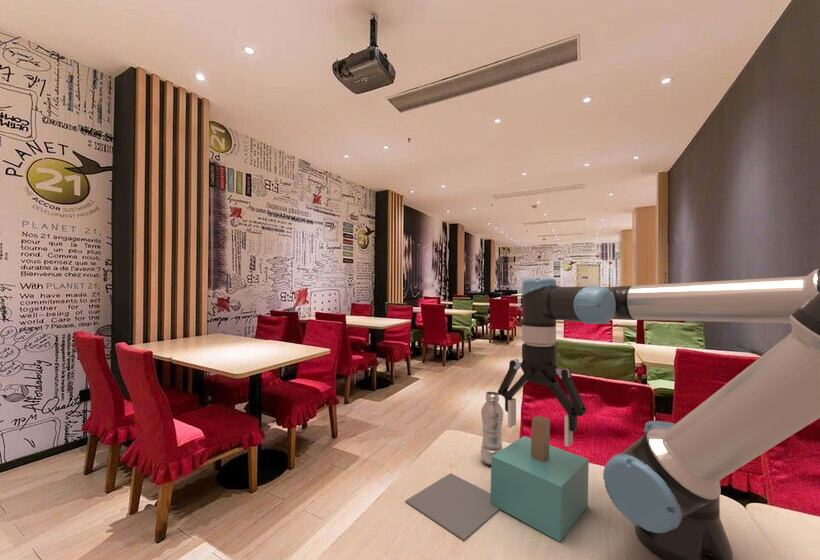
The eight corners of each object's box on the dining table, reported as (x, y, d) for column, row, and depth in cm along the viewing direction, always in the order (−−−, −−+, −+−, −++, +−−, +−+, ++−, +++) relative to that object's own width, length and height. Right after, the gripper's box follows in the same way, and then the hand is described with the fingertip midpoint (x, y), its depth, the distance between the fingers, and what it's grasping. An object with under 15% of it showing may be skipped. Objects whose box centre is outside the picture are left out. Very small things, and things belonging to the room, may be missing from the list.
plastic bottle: (503, 458, 101) (503, 390, 101) (504, 470, 94) (504, 398, 95) (480, 455, 102) (481, 389, 103) (480, 467, 96) (480, 396, 96)
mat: (507, 503, 80) (507, 501, 80) (463, 541, 68) (463, 539, 68) (450, 474, 92) (450, 473, 92) (405, 502, 80) (405, 500, 80)
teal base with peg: (587, 506, 79) (589, 420, 79) (560, 542, 68) (562, 441, 68) (523, 477, 90) (524, 402, 91) (490, 503, 79) (492, 417, 79)
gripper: (602, 348, 73) (602, 447, 73) (499, 336, 91) (499, 415, 91) (590, 353, 68) (590, 460, 68) (484, 338, 86) (483, 423, 86)
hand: (538, 434), depth 79 cm, fingers open, 13 cm apart
